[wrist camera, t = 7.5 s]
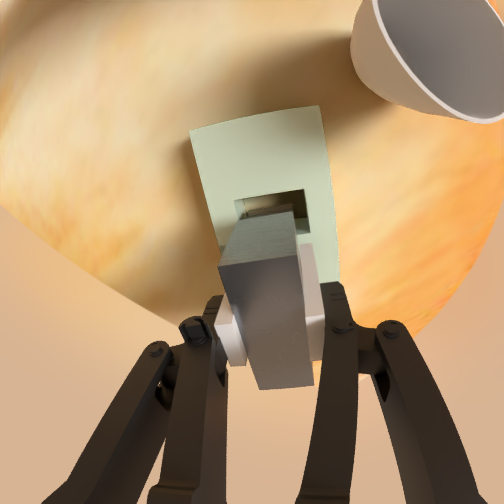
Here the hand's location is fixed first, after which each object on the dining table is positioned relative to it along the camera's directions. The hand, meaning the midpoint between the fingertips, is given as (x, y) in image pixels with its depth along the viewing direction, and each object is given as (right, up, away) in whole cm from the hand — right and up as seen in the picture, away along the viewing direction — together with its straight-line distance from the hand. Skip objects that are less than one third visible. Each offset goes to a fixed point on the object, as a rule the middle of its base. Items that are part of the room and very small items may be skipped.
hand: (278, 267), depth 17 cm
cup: (+8, +14, -3) cm, 17 cm away
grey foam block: (0, +1, +3) cm, 3 cm away
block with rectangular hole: (+1, +2, +4) cm, 5 cm away
